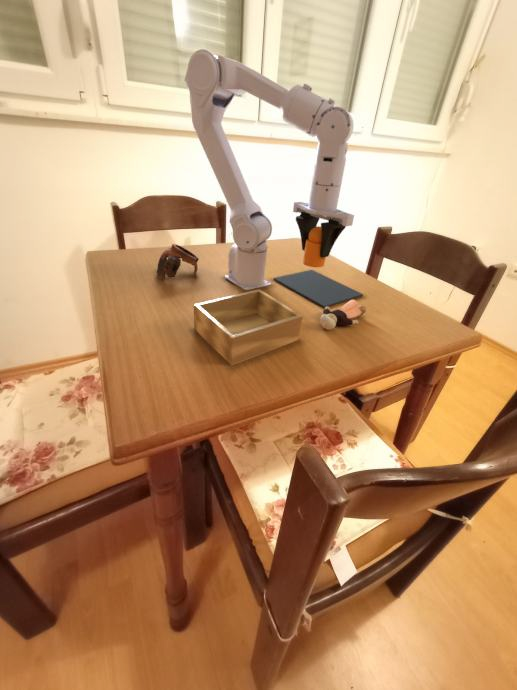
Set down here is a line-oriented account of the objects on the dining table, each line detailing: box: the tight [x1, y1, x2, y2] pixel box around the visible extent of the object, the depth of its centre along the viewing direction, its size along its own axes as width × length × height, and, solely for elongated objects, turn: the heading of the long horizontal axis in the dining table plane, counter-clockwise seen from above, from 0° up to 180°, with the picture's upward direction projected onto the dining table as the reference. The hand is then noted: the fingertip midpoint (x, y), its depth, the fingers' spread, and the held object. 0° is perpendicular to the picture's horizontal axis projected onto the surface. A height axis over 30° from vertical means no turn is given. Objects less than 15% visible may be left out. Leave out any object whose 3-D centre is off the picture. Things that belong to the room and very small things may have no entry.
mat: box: [273, 269, 364, 309], centre depth 79 cm, size 18×14×1 cm
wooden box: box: [193, 288, 304, 366], centre depth 56 cm, size 13×15×6 cm
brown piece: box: [156, 243, 200, 280], centre depth 77 cm, size 12×10×8 cm
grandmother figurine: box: [319, 299, 367, 331], centre depth 64 cm, size 8×4×13 cm
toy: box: [302, 225, 327, 268], centre depth 68 cm, size 5×5×8 cm
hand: (314, 253), depth 69 cm, fingers closed on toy, 5 cm apart
